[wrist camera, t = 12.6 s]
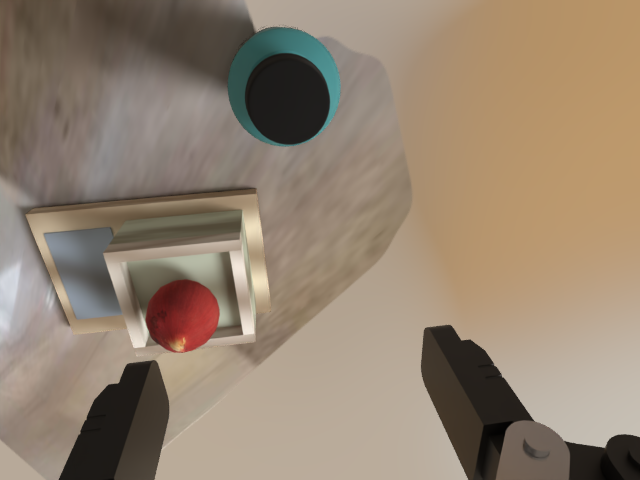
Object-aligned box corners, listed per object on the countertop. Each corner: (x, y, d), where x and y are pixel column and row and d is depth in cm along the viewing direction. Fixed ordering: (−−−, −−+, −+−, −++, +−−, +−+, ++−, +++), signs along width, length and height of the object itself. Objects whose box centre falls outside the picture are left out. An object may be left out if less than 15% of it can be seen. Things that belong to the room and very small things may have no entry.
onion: (166, 320, 39) (146, 384, 32) (148, 268, 37) (121, 326, 30) (228, 310, 40) (221, 371, 32) (214, 257, 37) (203, 311, 30)
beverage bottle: (325, 46, 36) (387, 63, 19) (295, 117, 39) (324, 192, 21) (254, 9, 34) (248, -10, 17) (227, 87, 37) (197, 141, 19)
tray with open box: (33, 208, 39) (-17, 247, 32) (256, 188, 41) (255, 221, 34) (79, 325, 46) (46, 380, 39) (270, 304, 48) (272, 352, 41)
